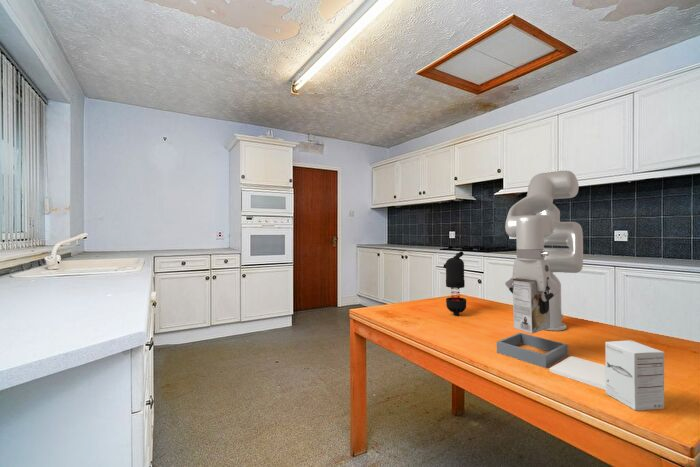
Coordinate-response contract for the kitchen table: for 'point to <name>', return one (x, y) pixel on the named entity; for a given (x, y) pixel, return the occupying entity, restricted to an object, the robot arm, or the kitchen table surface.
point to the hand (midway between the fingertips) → (531, 310)
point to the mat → (582, 371)
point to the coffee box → (528, 307)
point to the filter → (455, 283)
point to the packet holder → (543, 360)
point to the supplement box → (635, 374)
